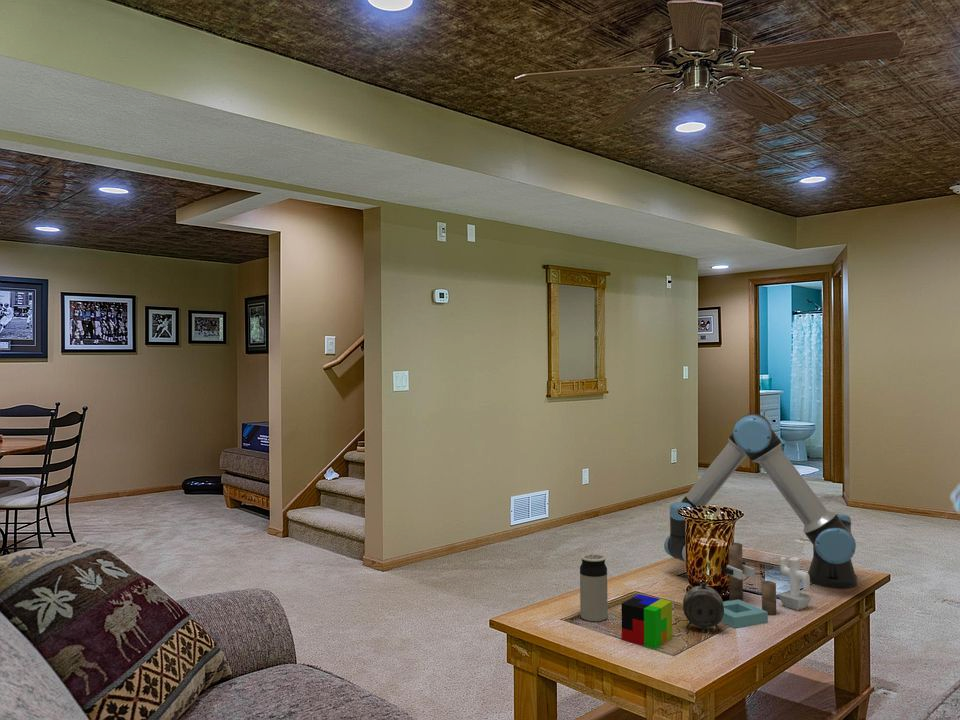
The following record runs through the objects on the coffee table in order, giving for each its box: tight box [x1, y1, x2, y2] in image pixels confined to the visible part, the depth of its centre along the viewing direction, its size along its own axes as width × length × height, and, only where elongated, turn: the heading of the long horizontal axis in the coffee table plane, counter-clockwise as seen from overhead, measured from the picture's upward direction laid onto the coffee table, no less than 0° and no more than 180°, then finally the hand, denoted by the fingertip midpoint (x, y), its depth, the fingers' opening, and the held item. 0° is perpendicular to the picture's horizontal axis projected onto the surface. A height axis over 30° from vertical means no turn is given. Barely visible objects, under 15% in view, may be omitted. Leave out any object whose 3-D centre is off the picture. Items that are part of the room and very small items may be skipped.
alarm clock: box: [682, 572, 724, 634], centre depth 205 cm, size 11×5×16 cm, turn 74°
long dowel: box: [728, 542, 744, 601], centre depth 229 cm, size 4×4×18 cm
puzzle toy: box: [620, 593, 673, 650], centre depth 199 cm, size 10×10×10 cm
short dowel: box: [761, 580, 777, 616], centre depth 218 cm, size 4×4×9 cm
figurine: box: [776, 556, 814, 611], centre depth 223 cm, size 7×9×15 cm
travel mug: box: [579, 553, 609, 623], centre depth 216 cm, size 8×8×18 cm
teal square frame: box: [720, 600, 769, 629], centre depth 214 cm, size 12×12×3 cm
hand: (747, 574), depth 224 cm, fingers closed on long dowel, 4 cm apart
